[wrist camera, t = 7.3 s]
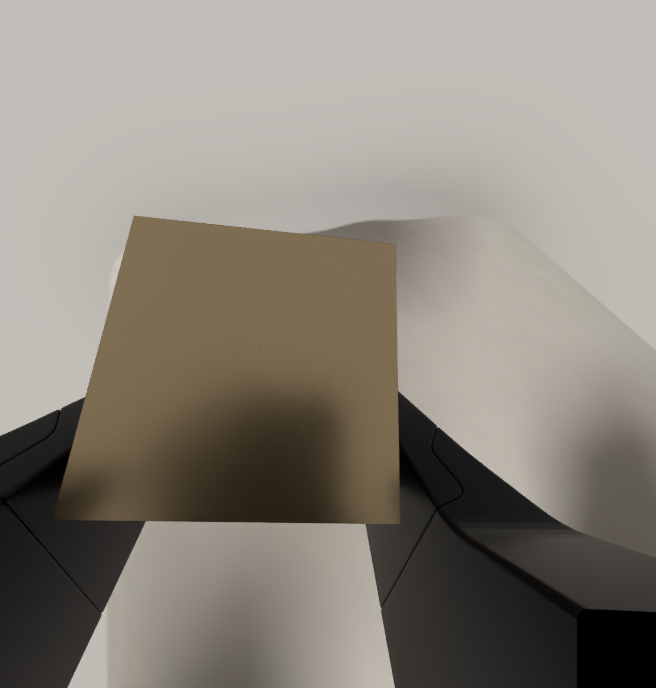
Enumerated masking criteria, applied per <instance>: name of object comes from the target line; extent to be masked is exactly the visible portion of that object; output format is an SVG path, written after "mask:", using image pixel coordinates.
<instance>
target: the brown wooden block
mask: <svg viewBox="0 0 656 688" xmlns="http://www.w3.org/2000/svg"><path fill="white" fill-rule="evenodd" d="M53 520H106V521H187V522H267V523H348V524H400V483H399V426H398V370H397V314H396V257H395V244H390V243H381V242H371V241H362V240H353V239H344V238H334V237H325V236H316V235H307V234H298V233H288V232H279V231H270V230H261V229H250V228H241V227H232V226H224V225H214V224H205V223H196V222H186V221H177V220H167V219H159V218H149V217H140V216H134V218H133V222H132V225H131V229H130V233H129V236H128V240H127V244H126V247H125V251H124V255H123V259H122V262H121V266H120V270H119V274H118V277H117V281H116V285H115V288H114V292H113V296H112V300H111V303H110V307H109V311H108V315H107V318H106V322H105V326H104V330H103V333H102V337H101V341H100V344H99V349H98V352H97V356H96V359H95V363H94V367H93V371H92V374H91V378H90V382H89V386H88V389H87V393H86V397H85V400H84V404H83V408H82V412H81V415H80V419H79V423H78V426H77V430H76V434H75V438H74V441H73V445H72V449H71V453H70V456H69V460H68V464H67V468H66V471H65V475H64V479H63V482H62V486H61V490H60V494H59V497H58V501H57V505H56V509H55V512H54V516H53Z"/></svg>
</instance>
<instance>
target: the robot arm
mask: <svg viewBox="0 0 656 688" xmlns="http://www.w3.org/2000/svg"><path fill="white" fill-rule="evenodd" d="M84 400H85V397H84V398H82V399H80V400H78V401H76V402H73V403H71V404H69V405H67V406H65V407H63V408H62V409H61V410H56V411H54V412H52V413H50V414H48V415H46V416H43V417H41V418H39V419H37V420H35V421H33V422H30V423H28V424H26V425H24V426H21V427H19V428H17V429H15V430H13V431H11V432H8V433H6V434H4V435H1V436H0V688H67V687H68V685H69V683H70V681H71V679H72V677H73V675H74V672H75V670H76V668H77V666H78V664H79V662H80V660H81V658H82V655H83V653H84V651H85V649H86V647H87V645H88V643H89V641H90V639H91V637H92V634H93V632H94V630H95V628H96V626H97V624H98V622H99V620H100V617H101V612H103V611H104V609H105V606H106V604H107V602H108V600H109V598H110V596H111V594H112V592H113V590H114V587H115V585H116V583H117V581H118V579H119V577H120V575H121V573H122V571H123V568H124V566H125V564H126V562H127V560H128V558H129V556H130V554H131V552H132V549H133V547H134V545H135V543H136V541H137V539H138V537H139V535H140V533H141V530H142V528H143V526H144V524H145V522H146V521H106V520H53V516H54V512H55V509H56V505H57V501H58V497H59V494H60V490H61V486H62V482H63V479H64V475H65V471H66V468H67V464H68V460H69V456H70V453H71V449H72V445H73V441H74V438H75V434H76V430H77V426H78V423H79V419H80V415H81V412H82V408H83V404H84ZM398 426H399V483H400V524H366V529H367V535H368V540H369V546H370V551H371V557H372V562H373V568H374V573H375V579H376V585H377V590H378V596H379V601H380V606H381V608H382V609H381V613H382V618H383V624H384V629H385V635H386V641H387V646H388V652H389V657H390V663H391V668H392V674H393V679H394V685H395V688H656V558H653V557H650V556H647V555H644V554H641V553H638V552H635V551H632V550H629V549H626V548H623V547H620V546H617V545H614V544H611V543H608V542H605V541H602V540H599V539H596V538H593V537H590V536H588V535H585V534H583V533H581V532H578V531H576V530H574V529H572V528H570V527H568V526H566V525H564V524H563V523H561V522H559V521H558V520H556V519H554V518H553V517H551V516H550V515H548V514H547V513H546V512H544V511H543V510H542V509H540V508H539V507H538V506H536V505H535V504H534V503H532V502H531V501H530V500H528V499H527V498H526V497H525V496H523V495H522V494H521V493H519V492H518V491H517V490H515V489H514V488H513V487H512V486H510V485H509V484H508V483H506V482H505V481H504V480H502V479H501V478H500V477H499V476H497V475H496V474H495V473H493V472H492V471H491V470H489V469H488V468H487V467H486V466H484V465H483V464H482V463H481V462H479V461H478V460H477V459H475V458H474V457H473V456H472V455H470V454H469V453H468V452H467V451H466V450H464V449H463V448H462V447H461V446H460V445H459V444H457V443H456V442H455V441H454V440H453V439H452V438H450V437H449V436H448V435H447V434H446V433H445V432H444V431H442V430H441V429H440V428H439V427H438V428H437V425H436V424H434V423H433V422H432V421H431V420H430V419H429V418H428V417H427V416H426V415H424V414H423V413H422V412H421V411H420V410H419V409H418V408H417V407H415V406H414V405H413V404H412V403H411V402H410V401H409V400H408V399H407V398H405V397H404V396H403V395H402V394H401V393H400V392H399V391H398Z"/></svg>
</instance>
